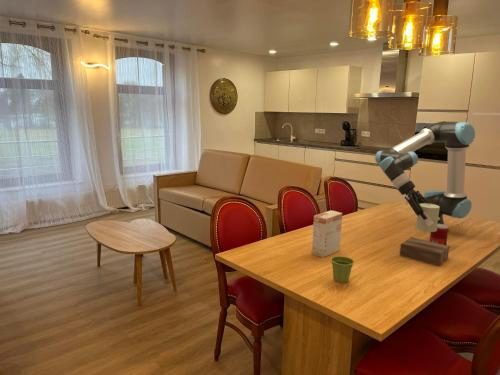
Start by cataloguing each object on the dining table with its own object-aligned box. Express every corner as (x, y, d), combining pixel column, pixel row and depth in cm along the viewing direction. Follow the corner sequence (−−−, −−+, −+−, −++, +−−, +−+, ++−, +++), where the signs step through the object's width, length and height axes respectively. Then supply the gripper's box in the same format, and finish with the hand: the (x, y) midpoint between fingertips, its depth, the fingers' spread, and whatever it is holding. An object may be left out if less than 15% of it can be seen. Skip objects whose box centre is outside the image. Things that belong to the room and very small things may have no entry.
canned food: (447, 248, 192) (450, 228, 190) (431, 247, 194) (433, 227, 191) (443, 243, 199) (446, 224, 197) (427, 242, 201) (430, 222, 199)
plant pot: (326, 275, 158) (327, 256, 156) (348, 274, 158) (349, 255, 157) (333, 285, 148) (334, 265, 147) (356, 284, 149) (357, 264, 147)
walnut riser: (409, 248, 192) (411, 237, 190) (447, 257, 180) (449, 246, 178) (399, 255, 181) (400, 243, 180) (439, 266, 170) (440, 253, 168)
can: (435, 227, 180) (438, 203, 178) (438, 233, 172) (441, 207, 169) (414, 225, 183) (417, 201, 181) (416, 230, 175) (419, 205, 172)
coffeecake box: (328, 246, 192) (330, 210, 188) (340, 250, 187) (343, 212, 183) (310, 253, 181) (313, 215, 177) (323, 258, 176) (325, 218, 172)
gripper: (405, 186, 192) (434, 222, 185) (389, 192, 176) (420, 231, 169) (417, 177, 188) (447, 214, 180) (401, 182, 172) (433, 223, 165)
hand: (434, 222), depth 175 cm, fingers closed on can, 9 cm apart
